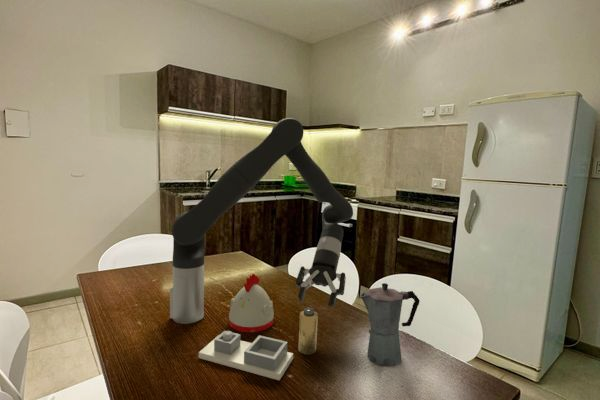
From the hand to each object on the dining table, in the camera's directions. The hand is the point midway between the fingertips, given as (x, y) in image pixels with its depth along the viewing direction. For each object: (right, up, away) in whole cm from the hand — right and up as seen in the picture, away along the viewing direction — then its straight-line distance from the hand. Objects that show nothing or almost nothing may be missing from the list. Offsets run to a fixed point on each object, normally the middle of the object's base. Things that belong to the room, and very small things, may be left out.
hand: (315, 304), depth 92 cm
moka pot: (+18, -12, -6) cm, 23 cm away
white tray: (-18, -11, -10) cm, 23 cm away
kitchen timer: (-20, -9, +10) cm, 24 cm away
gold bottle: (-2, -11, -4) cm, 12 cm away
